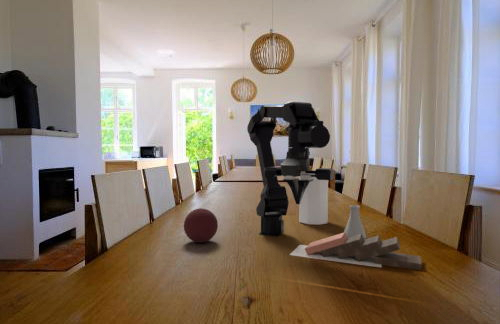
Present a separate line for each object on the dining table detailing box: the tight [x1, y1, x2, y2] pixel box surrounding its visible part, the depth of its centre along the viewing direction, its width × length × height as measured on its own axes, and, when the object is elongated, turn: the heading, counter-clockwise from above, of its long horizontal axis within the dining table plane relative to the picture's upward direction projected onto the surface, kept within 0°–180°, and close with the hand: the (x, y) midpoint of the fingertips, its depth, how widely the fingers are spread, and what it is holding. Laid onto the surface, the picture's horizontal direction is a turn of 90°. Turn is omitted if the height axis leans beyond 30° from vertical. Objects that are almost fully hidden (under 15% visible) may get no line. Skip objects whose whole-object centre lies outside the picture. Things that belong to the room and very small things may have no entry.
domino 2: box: [321, 234, 364, 257], centre depth 84 cm, size 2×6×10 cm
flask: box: [343, 204, 368, 239], centre depth 103 cm, size 7×7×10 cm
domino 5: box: [374, 251, 422, 271], centre depth 79 cm, size 2×6×10 cm
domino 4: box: [355, 236, 400, 261], centre depth 80 cm, size 2×6×10 cm
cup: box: [298, 177, 329, 226], centre depth 125 cm, size 11×11×18 cm
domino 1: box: [305, 231, 347, 255], centre depth 86 cm, size 2×6×10 cm
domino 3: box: [338, 235, 382, 259], centre depth 82 cm, size 2×6×10 cm
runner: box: [289, 244, 383, 268], centre depth 85 cm, size 22×10×1 cm, turn 66°
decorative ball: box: [183, 207, 219, 244], centre depth 98 cm, size 10×10×10 cm
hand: (297, 204), depth 91 cm, fingers closed
